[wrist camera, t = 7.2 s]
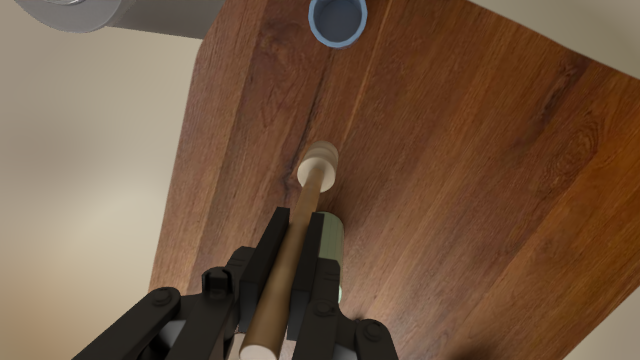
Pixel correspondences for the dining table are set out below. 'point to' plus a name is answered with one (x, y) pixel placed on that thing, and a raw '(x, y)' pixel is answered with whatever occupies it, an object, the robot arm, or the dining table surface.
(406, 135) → the dining table surface
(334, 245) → the vase
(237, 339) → the drinking glass
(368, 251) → the dining table surface
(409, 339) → the dining table surface
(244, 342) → the bottle brush
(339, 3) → the cup
